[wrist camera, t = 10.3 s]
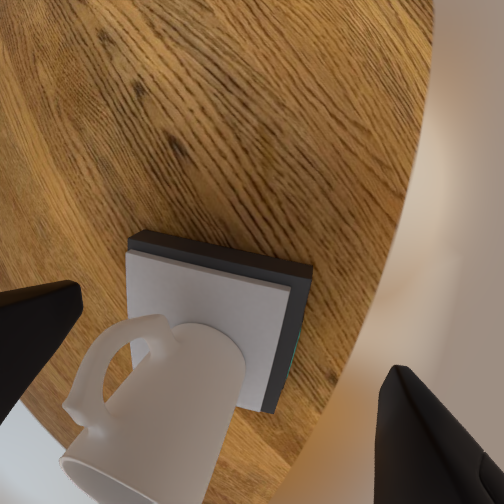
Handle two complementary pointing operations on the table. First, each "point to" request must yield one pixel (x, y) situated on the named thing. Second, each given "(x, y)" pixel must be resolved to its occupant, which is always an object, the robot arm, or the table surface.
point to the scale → (222, 303)
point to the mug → (153, 414)
